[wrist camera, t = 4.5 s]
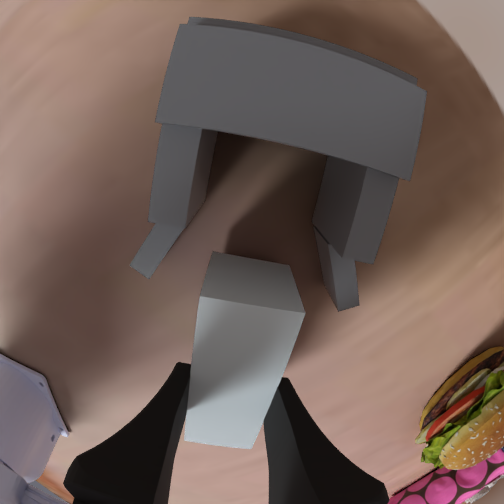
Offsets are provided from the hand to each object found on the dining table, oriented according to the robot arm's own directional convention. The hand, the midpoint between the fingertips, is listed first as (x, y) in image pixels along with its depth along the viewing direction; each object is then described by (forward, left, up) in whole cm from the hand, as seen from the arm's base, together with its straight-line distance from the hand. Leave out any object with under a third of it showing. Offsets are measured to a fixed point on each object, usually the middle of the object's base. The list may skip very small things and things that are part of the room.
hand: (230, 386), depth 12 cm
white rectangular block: (0, 0, -3) cm, 3 cm away
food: (-6, -24, -4) cm, 25 cm away
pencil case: (-25, -37, -4) cm, 44 cm away
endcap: (+9, 0, -4) cm, 10 cm away
